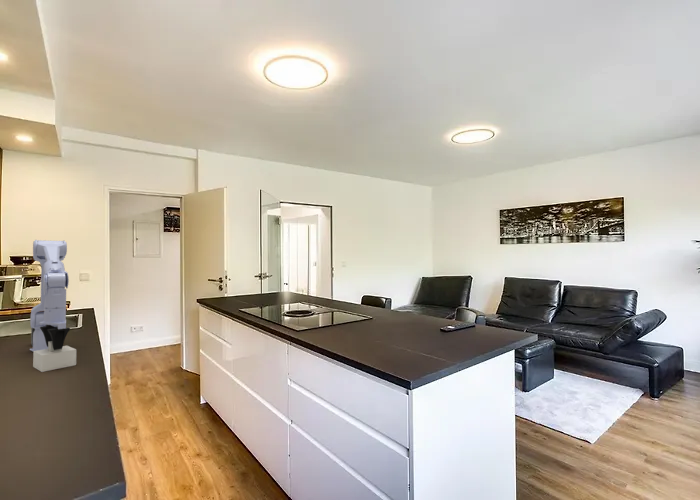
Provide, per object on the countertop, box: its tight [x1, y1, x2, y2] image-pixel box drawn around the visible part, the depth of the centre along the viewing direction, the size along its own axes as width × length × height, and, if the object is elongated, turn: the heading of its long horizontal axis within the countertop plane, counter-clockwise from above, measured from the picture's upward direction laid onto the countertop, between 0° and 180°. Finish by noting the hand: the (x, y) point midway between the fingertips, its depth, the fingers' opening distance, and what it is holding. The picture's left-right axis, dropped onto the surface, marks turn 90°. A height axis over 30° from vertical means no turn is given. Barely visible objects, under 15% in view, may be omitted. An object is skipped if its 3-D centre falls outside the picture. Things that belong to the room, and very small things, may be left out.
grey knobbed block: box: [32, 341, 77, 373], centre depth 122 cm, size 9×9×8 cm
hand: (54, 347), depth 121 cm, fingers open, 6 cm apart
